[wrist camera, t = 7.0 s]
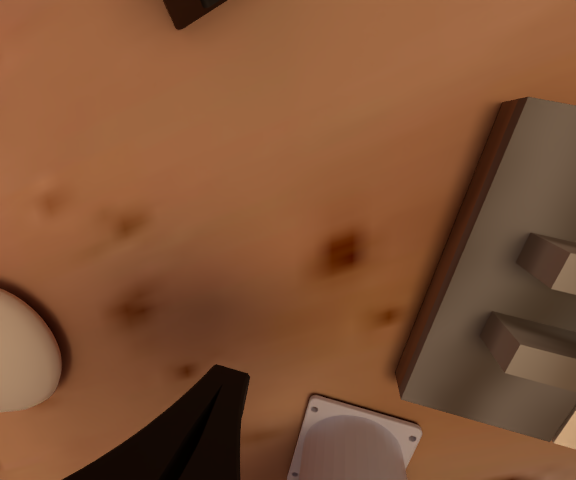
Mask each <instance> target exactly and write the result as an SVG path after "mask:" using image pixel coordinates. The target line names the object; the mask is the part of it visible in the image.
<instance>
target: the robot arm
mask: <svg viewBox="0 0 576 480" xmlns="http://www.w3.org/2000/svg"><path fill="white" fill-rule="evenodd" d="M249 380H250V376H249V375H248V373H244V372H241V371H237V370H234V369H230V368H227V367H224V366H220V365H217V364H216V365H214V366H213V367H212V368H211V369H210V370H209V371H208V372H207V373H206V374H205V375H204V376H203V377H202V378H201V379H200V380H199V381H198V382H197V383H196V384H195V385H194V386H193V387H192V388H191V389H190V390H189V391H188V392H187V393H185V394H184V395H183V396H182V397H181V398H180V399H179V400H178V401H176V402H175V403H174V404H173V405H172V406H171V407H169V408H168V409H167V410H166V411H165V412H163V413H162V414H161V415H160V416H158V417H157V418H156V419H155V420H153V421H152V422H151V423H150V424H148V425H147V426H146V427H144V428H143V429H142V430H140V431H139V432H137V433H136V434H135V435H133V436H132V437H130V438H129V439H128V440H126V441H125V442H123V443H122V444H120V445H119V446H117V447H116V448H114V449H113V450H111V451H110V452H108V453H106V454H105V455H103V456H102V457H100V458H99V459H97V460H95V461H94V462H92V463H90V464H89V465H87V466H85V467H84V468H82V469H80V470H79V471H77V472H75V473H73V474H71V475H69V476H68V477H66V478H64V479H62V480H240V430H241V418H242V415H243V410H244V405H245V400H246V395H247V390H248V385H249ZM313 407H316V408H313ZM411 436H412V437H411ZM421 436H422V430H421V427H420V426H419V425H417V424H414V423H411V422H407V421H404V420H400V419H397V418H394V417H390V416H387V415H383V414H380V413H376V412H373V411H370V410H366V409H363V408H359V407H356V406H352V405H349V404H346V403H342V402H339V401H335V400H332V399H328V398H325V397H322V396H318V395H313V396H311V397H310V399H309V403H308V406H307V410H306V413H305V417H304V420H303V424H302V427H301V431H300V434H299V437H298V441H297V444H296V448H295V451H294V455H293V458H292V462H291V465H290V469H289V472H288V476H287V480H407V475H406V468H407V466H408V463H409V461H410V459H411V457H412V455H413V453H414V451H415V449H416V447H417V445H418V442H419V440H420V438H421Z"/></svg>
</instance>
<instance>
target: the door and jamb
mask: <svg viewBox="0 0 576 480" xmlns="http://www.w3.org/2000/svg"><path fill="white" fill-rule="evenodd" d="M395 374H396V378H397V383H398V388H399V392H400V397H401V400H405V401H408V402H412V403H415V404H419V405H422V406H426V407H429V408H433V409H436V410H440V411H443V412H447V413H450V414H454V415H457V416H461V417H464V418H468V419H471V420H475V421H478V422H482V423H485V424H489V425H492V426H496V427H499V428H503V429H506V430H510V431H513V432H517V433H520V434H524V435H527V436H531V437H534V438H538V439H541V440H545V441H548V442H550V441H551V440H552V441H553V443H555V444H559V445H562V446H566V447H569V448H573V449H576V106H575V105H570V104H564V103H559V102H554V101H548V100H543V99H538V98H532V97H525V98H520V99H516V100H511V101H506V102H503V103H502V105H501V108H500V110H499V113H498V115H497V118H496V120H495V123H494V125H493V128H492V130H491V133H490V135H489V138H488V140H487V143H486V145H485V148H484V150H483V153H482V155H481V158H480V161H479V163H478V166H477V168H476V171H475V173H474V176H473V178H472V181H471V183H470V186H469V188H468V191H467V193H466V196H465V198H464V201H463V203H462V206H461V208H460V211H459V213H458V216H457V218H456V221H455V223H454V226H453V228H452V231H451V233H450V236H449V239H448V241H447V244H446V246H445V249H444V251H443V254H442V256H441V259H440V261H439V264H438V266H437V269H436V271H435V274H434V276H433V279H432V281H431V284H430V286H429V289H428V291H427V294H426V296H425V299H424V301H423V304H422V306H421V309H420V311H419V314H418V317H417V319H416V322H415V324H414V327H413V329H412V332H411V334H410V337H409V339H408V342H407V344H406V347H405V349H404V352H403V354H402V357H401V359H400V362H399V364H398V367H397V369H396V372H395Z"/></svg>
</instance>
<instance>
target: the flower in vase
mask: <svg viewBox="0 0 576 480" xmlns="http://www.w3.org/2000/svg"><path fill="white" fill-rule="evenodd" d="M61 371H62V358H61V353H60V350H59V347H58V344H57V342H56V339H55V337H54V335H53V334H52V332H51V330H50V329H49V327H48V326H47V324H46V323H45V322H44V320H43V319H42V318H41V317H40V316H39V315H38V314H37V313H36V312H35V311H34V310H33V309H32V308H31V307H30V306H29V305H28V304H26V303H25V302H24V301H23V300H21V299H20V298H18V297H17V296H15V295H13V294H11V293H9V292H7V291H5V290H3V289H0V412H9V411H19V410H25V409H28V408H31V407H33V406H35V405H38V404H40V403H42V402H44V401H45V400H47V399H48V398H49V397H50V396H51V395H52V394H53V393H54V392H55V390H56V388H57V386H58V382H59V379H60V376H61Z"/></svg>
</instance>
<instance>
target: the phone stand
mask: <svg viewBox="0 0 576 480" xmlns="http://www.w3.org/2000/svg"><path fill="white" fill-rule="evenodd" d="M225 1H227V0H163V2H164V4H165V6H166V8H167V10H168V12H169V15H170V17H171V19H172V21H173V23H174V26H175V28H176V29H182V28H185V27H186V26H188V25H189V24H191V23H193V22H194V21H196V20H197V19H199V18H200V17H202V16H203V15H205V14H207V13H208V12H210V11H211V10H213V9H214V8H216V7H218V6H219V5H221V4H222V3H224V2H225Z"/></svg>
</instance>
